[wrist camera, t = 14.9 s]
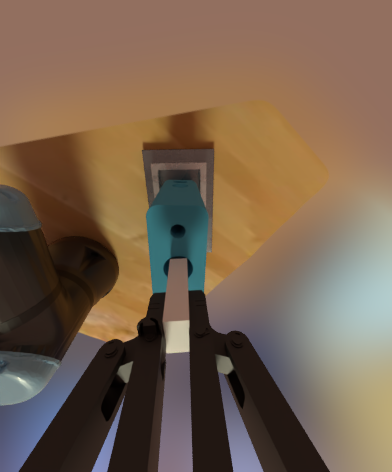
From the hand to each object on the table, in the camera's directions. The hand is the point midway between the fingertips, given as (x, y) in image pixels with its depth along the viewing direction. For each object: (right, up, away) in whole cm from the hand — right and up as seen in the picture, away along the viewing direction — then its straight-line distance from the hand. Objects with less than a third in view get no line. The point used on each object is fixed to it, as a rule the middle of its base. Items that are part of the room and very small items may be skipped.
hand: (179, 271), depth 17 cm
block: (-1, +9, +19) cm, 21 cm away
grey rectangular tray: (-1, +9, +19) cm, 21 cm away
